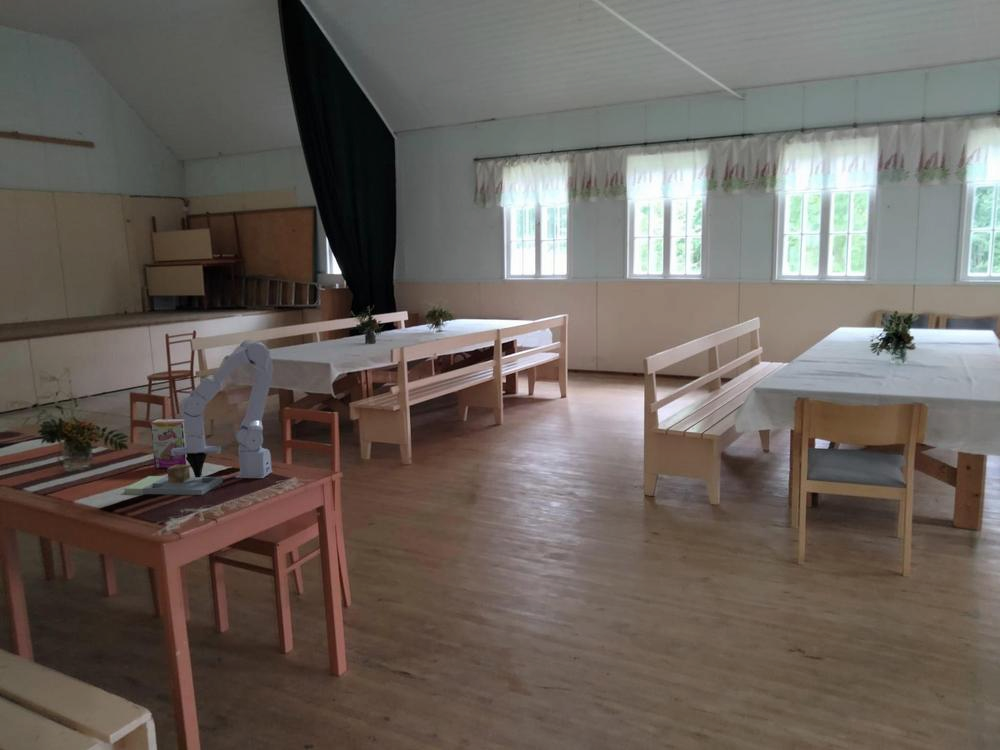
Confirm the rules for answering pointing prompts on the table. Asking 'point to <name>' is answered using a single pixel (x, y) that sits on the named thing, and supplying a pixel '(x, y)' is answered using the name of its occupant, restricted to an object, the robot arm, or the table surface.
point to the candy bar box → (168, 442)
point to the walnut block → (178, 473)
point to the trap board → (173, 486)
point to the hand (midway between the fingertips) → (198, 476)
